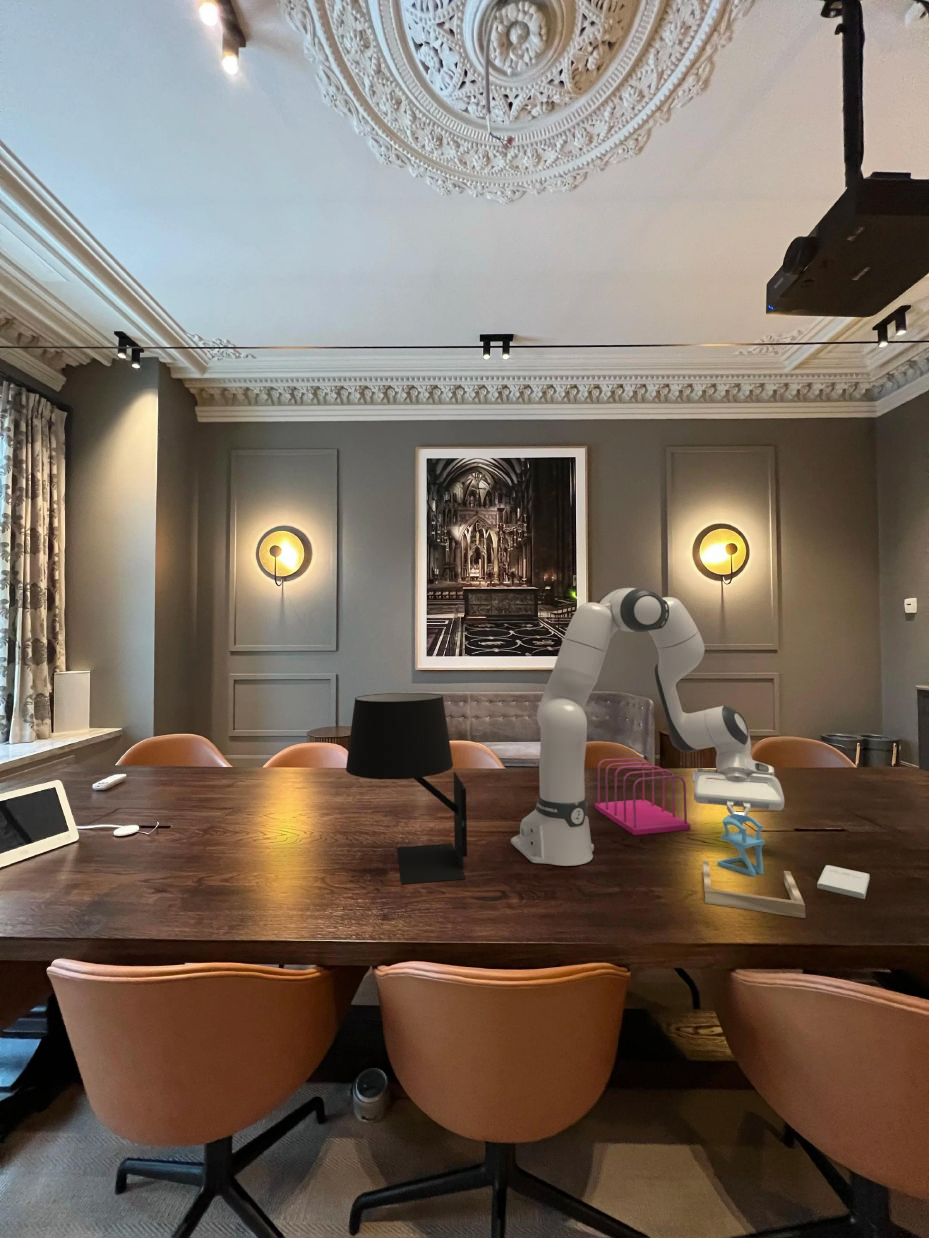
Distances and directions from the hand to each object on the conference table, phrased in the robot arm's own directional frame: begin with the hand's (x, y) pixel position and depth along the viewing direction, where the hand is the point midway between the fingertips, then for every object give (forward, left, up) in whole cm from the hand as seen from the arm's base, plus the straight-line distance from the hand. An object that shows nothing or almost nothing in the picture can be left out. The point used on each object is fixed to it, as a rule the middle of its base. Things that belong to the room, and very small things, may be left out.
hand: (739, 821), depth 133 cm
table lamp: (-37, -71, -9) cm, 81 cm away
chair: (+4, -4, -9) cm, 11 cm away
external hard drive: (+19, +8, -10) cm, 23 cm away
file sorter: (-35, +2, -10) cm, 36 cm away
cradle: (+12, -14, -9) cm, 21 cm away
